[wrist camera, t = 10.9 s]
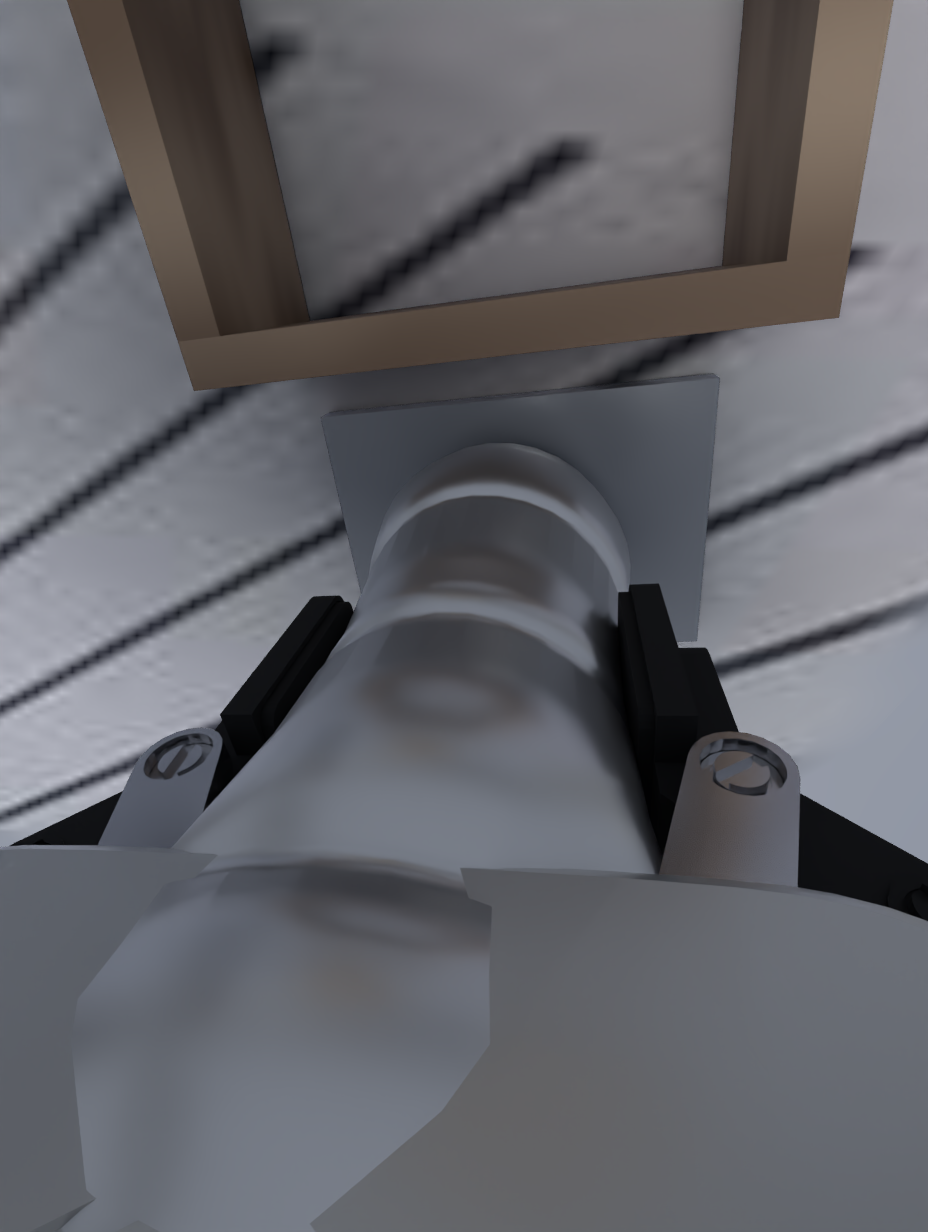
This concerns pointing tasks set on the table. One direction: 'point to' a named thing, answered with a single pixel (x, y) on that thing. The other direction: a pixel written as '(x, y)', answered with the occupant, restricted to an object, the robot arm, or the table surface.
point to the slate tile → (576, 433)
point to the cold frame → (493, 326)
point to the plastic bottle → (369, 864)
